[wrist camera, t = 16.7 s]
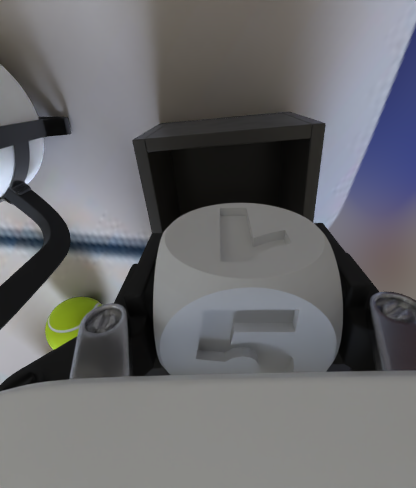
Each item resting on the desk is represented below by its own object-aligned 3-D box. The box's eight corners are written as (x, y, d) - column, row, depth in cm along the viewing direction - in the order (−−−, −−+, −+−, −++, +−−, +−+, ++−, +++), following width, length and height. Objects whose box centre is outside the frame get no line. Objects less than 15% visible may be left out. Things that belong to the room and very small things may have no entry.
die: (302, 200, 10) (364, 282, 6) (286, 299, 13) (322, 407, 8) (173, 202, 10) (141, 282, 6) (183, 299, 13) (165, 405, 9)
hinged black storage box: (159, 123, 24) (131, 139, 16) (290, 111, 23) (326, 122, 15) (181, 258, 31) (169, 313, 24) (281, 253, 30) (302, 308, 23)
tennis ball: (121, 324, 37) (103, 369, 31) (73, 324, 37) (45, 369, 31) (110, 285, 34) (86, 328, 27) (56, 285, 34) (21, 328, 28)
